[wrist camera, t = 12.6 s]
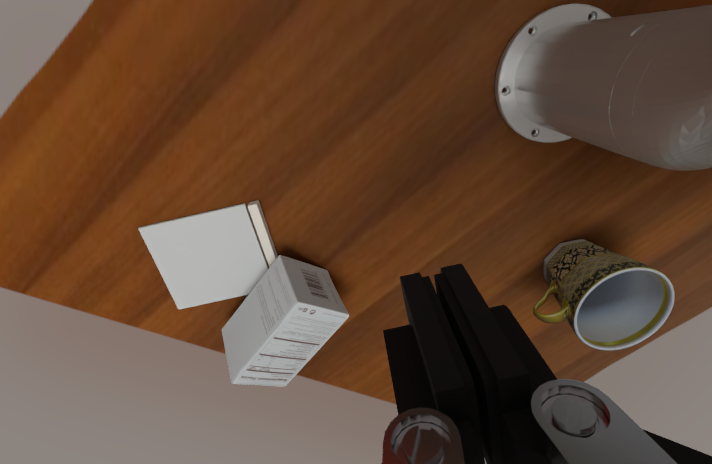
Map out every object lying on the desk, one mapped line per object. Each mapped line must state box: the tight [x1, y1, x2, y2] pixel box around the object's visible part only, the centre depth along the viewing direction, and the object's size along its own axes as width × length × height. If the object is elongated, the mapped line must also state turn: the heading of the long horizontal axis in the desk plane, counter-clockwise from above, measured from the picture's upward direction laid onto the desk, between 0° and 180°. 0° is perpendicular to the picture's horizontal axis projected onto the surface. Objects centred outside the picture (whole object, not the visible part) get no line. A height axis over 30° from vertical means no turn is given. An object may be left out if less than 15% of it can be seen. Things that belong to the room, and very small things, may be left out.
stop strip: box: [248, 200, 278, 267], centre depth 44 cm, size 1×11×1 cm, turn 12°
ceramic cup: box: [533, 239, 674, 351], centre depth 44 cm, size 13×10×10 cm
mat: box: [138, 203, 269, 309], centre depth 45 cm, size 12×11×1 cm
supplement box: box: [222, 255, 349, 387], centre depth 44 cm, size 7×7×13 cm
